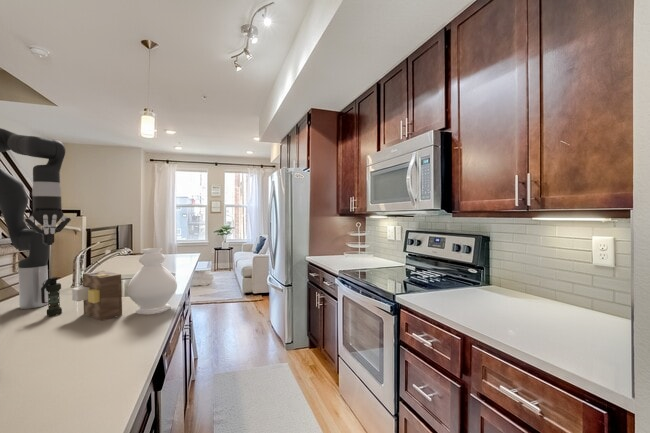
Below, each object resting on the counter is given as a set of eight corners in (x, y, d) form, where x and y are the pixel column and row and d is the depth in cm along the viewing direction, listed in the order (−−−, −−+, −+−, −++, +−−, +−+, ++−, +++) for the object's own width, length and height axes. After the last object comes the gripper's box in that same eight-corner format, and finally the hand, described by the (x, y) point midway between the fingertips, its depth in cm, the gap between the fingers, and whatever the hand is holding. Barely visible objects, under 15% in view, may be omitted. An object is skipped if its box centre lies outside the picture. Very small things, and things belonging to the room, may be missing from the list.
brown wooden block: (83, 314, 123) (82, 273, 123) (103, 309, 129) (102, 270, 129) (101, 320, 115) (100, 277, 115) (122, 315, 121) (121, 273, 121)
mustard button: (88, 301, 116) (87, 290, 116) (106, 297, 122) (105, 286, 121) (93, 303, 114) (93, 291, 114) (111, 299, 119) (111, 287, 119)
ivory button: (72, 300, 119) (72, 288, 119) (90, 296, 124) (90, 285, 124) (77, 301, 117) (77, 290, 116) (95, 297, 122) (95, 286, 122)
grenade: (48, 318, 119) (47, 279, 118) (36, 317, 120) (34, 278, 119) (66, 312, 125) (64, 275, 125) (53, 311, 126) (52, 275, 126)
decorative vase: (177, 312, 124) (176, 249, 123) (125, 319, 116) (123, 253, 116) (177, 300, 140) (175, 245, 139) (130, 306, 132) (129, 248, 132)
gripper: (25, 194, 101) (27, 247, 102) (74, 195, 112) (76, 243, 113) (17, 195, 105) (19, 246, 105) (66, 196, 116) (67, 242, 117)
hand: (48, 244), depth 109 cm, fingers closed
